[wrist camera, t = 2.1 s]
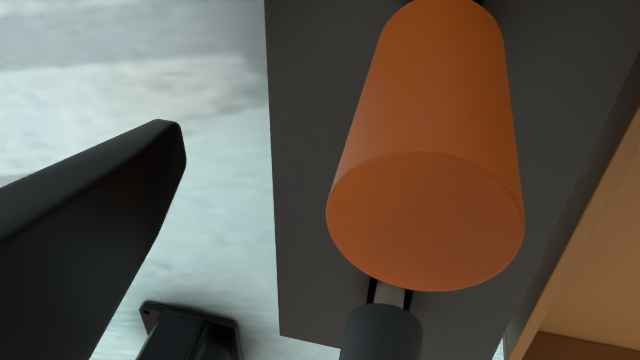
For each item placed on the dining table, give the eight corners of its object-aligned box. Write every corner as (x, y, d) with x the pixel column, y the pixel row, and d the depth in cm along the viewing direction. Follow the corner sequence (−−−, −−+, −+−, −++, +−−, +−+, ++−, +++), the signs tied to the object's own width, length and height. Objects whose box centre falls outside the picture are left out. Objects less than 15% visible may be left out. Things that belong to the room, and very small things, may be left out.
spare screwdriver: (425, 262, 24) (402, 522, 16) (364, 250, 25) (311, 497, 16) (436, 218, 22) (417, 488, 14) (369, 206, 23) (313, 461, 14)
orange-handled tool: (482, 35, 17) (495, 308, 8) (392, 24, 17) (322, 273, 9) (507, -62, 15) (554, 171, 6) (404, -71, 15) (328, 135, 7)
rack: (693, -202, 12) (756, -190, 9) (480, 317, 26) (482, 380, 23) (294, -220, 13) (253, -214, 11) (297, 280, 27) (279, 335, 25)
